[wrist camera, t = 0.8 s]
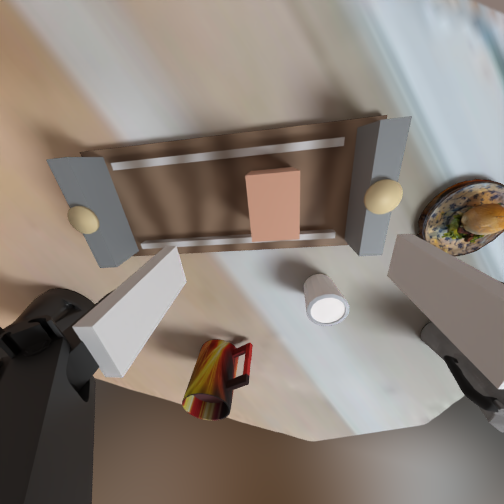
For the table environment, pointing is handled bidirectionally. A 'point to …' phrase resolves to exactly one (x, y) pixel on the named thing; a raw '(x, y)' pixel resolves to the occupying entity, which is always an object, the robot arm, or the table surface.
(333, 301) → the white cup
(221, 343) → the mug
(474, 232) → the burger
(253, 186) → the salmon pink box
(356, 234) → the knobbed grey end panels
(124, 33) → the table surface
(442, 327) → the robot arm
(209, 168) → the rail track
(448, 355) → the coffeepot
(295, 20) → the table surface
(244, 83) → the table surface
